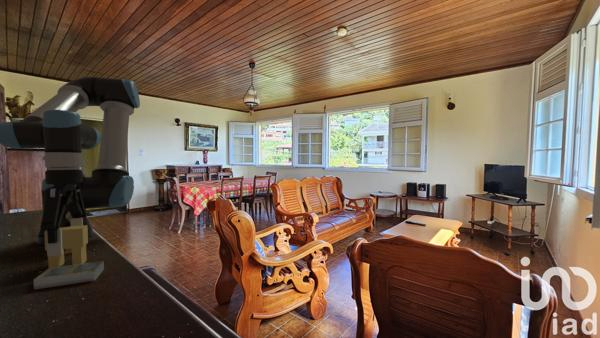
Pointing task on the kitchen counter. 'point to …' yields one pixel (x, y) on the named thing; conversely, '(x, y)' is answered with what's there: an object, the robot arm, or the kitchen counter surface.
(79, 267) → the grey flat frame
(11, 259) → the kitchen counter surface
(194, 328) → the kitchen counter surface
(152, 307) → the kitchen counter surface
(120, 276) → the kitchen counter surface
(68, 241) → the yellow notched block
